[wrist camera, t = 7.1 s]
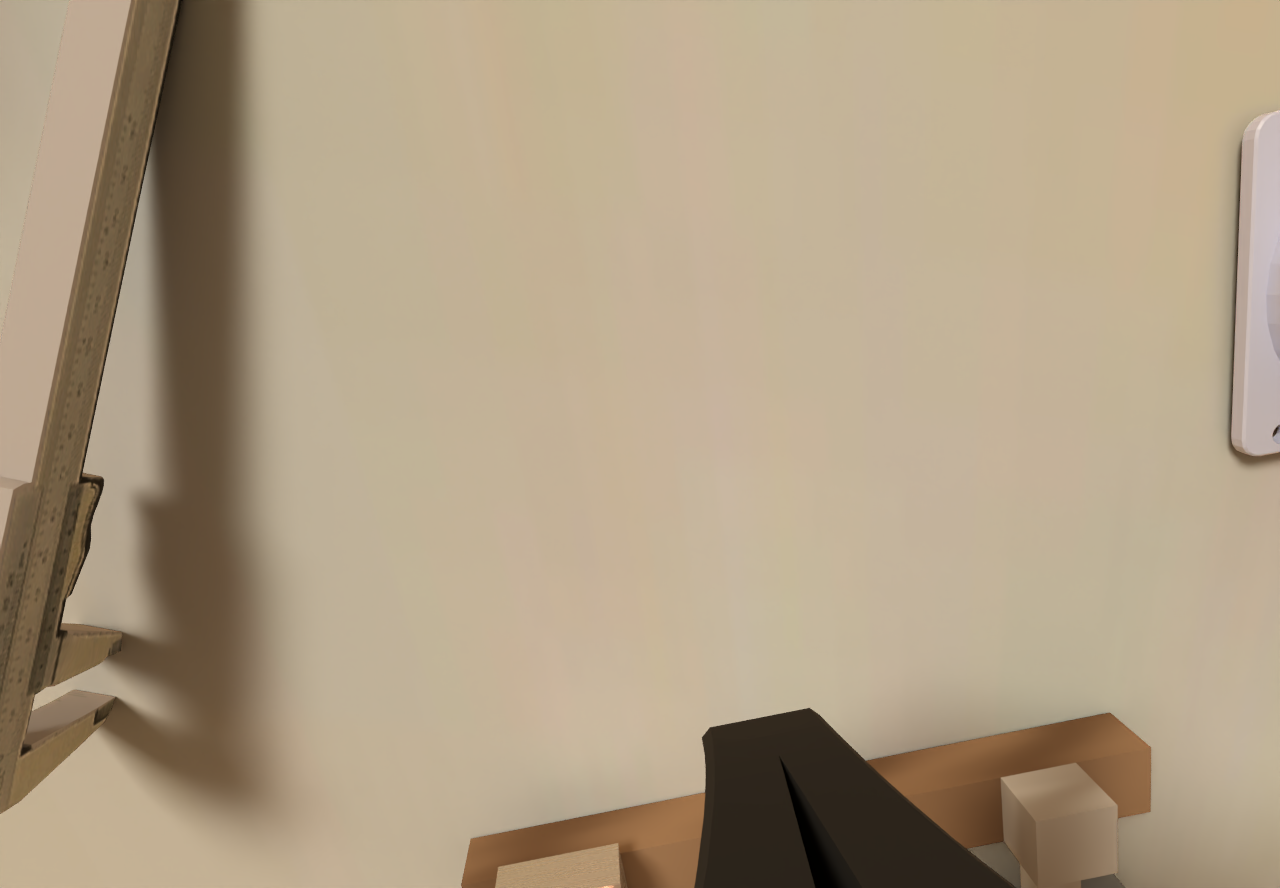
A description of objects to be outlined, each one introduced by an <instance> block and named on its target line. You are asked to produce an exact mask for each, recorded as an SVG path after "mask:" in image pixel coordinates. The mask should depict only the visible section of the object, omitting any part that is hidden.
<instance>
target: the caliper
mask: <svg viewBox="0 0 1280 888" xmlns="http://www.w3.org/2000/svg"><path fill="white" fill-rule="evenodd" d="M181 2H182V0H69V5H68V10H67V15H66V20H65V24H64V29H63V34H62V39H61V44H60V49H59V54H58V58H57V63H56V68H55V73H54V78H53V83H52V88H51V93H50V98H49V103H48V108H47V113H46V118H45V123H44V127H43V132H42V137H41V142H40V147H39V152H38V157H37V162H36V167H35V172H34V177H33V182H32V187H31V192H30V196H29V201H28V206H27V211H26V216H25V221H24V226H23V231H22V236H21V241H20V246H19V251H18V256H17V260H16V265H15V270H14V275H13V280H12V285H11V290H10V295H9V300H8V305H7V310H6V315H5V320H4V325H3V329H2V334H1V339H0V814H1V813H3V812H4V811H6V810H7V809H9V808H10V807H12V806H14V805H15V804H17V803H18V802H20V801H21V800H22V799H23V798H24V797H25V796H26V795H27V794H28V793H29V792H30V791H32V790H33V789H34V788H35V787H36V786H37V785H38V784H39V783H40V782H41V781H42V780H43V779H44V778H46V777H47V776H48V775H49V774H50V773H51V772H52V771H53V770H54V769H55V768H56V767H57V766H58V765H60V764H61V763H62V762H63V761H64V760H65V759H66V758H67V757H68V756H69V755H70V754H71V753H72V752H73V751H75V750H76V749H77V748H78V747H79V746H80V745H81V744H82V743H83V742H84V741H85V740H86V739H87V738H88V737H89V736H90V735H91V734H92V733H93V732H94V731H95V730H96V729H98V728H99V727H100V726H101V725H102V724H103V723H104V722H105V720H106V718H107V716H108V714H109V712H110V711H111V709H112V705H113V702H114V699H115V697H113V696H108V695H102V694H96V693H90V692H84V691H78V690H72V691H70V692H68V693H66V694H65V695H63V696H61V697H59V698H57V699H56V700H54V701H52V702H50V703H48V704H46V705H44V706H42V707H40V708H38V709H36V710H34V711H32V706H33V701H34V697H35V694H37V693H38V692H40V691H41V690H43V689H44V688H46V687H50V686H55V685H57V684H59V683H61V682H63V681H65V680H68V679H70V678H72V677H74V676H76V675H78V674H80V673H82V672H84V671H86V670H88V669H90V668H92V667H94V666H96V665H98V664H100V663H101V662H103V661H104V660H105V658H106V657H107V656H110V655H112V654H115V653H117V652H119V651H121V642H122V632H120V631H115V630H109V629H104V628H98V627H93V626H87V625H82V624H67V623H61V622H62V617H63V612H64V607H65V602H66V598H67V597H69V596H70V595H71V594H72V592H73V589H74V587H75V584H76V582H77V579H78V577H79V574H80V572H81V569H82V567H83V564H84V562H85V559H86V557H87V554H88V552H89V549H90V542H91V523H92V519H93V515H94V512H95V510H96V507H97V505H98V502H99V499H100V496H101V494H102V490H103V486H104V479H103V478H102V477H101V476H96V475H91V474H86V473H82V472H83V468H84V463H85V458H86V453H87V448H88V444H89V439H90V434H91V429H92V424H93V419H94V415H95V410H96V405H97V400H98V395H99V391H100V386H101V381H102V376H103V371H104V366H105V362H106V357H107V352H108V347H109V342H110V338H111V333H112V328H113V323H114V318H115V314H116V309H117V304H118V299H119V294H120V289H121V285H122V280H123V275H124V270H125V265H126V261H127V256H128V251H129V246H130V241H131V237H132V232H133V227H134V222H135V217H136V212H137V208H138V203H139V198H140V194H141V189H142V184H143V180H144V175H145V170H146V166H147V161H148V156H149V152H150V147H151V142H152V137H153V133H154V128H155V123H156V119H157V114H158V109H159V105H160V100H161V95H162V91H163V86H164V81H165V77H166V72H167V67H168V63H169V58H170V53H171V49H172V44H173V39H174V35H175V30H176V25H177V21H178V16H179V11H180V7H181ZM31 711H32V712H31Z"/></svg>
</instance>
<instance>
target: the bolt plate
mask: <svg viewBox="0 0 1280 888" xmlns="http://www.w3.org/2000/svg"><path fill="white" fill-rule="evenodd" d="M1081 888H1125V887H1124V886H1123V884H1122V883H1121V882H1120V881H1119V880H1118V879H1117V878H1116V876H1115V875H1114V874H1110V875H1105V876H1100V877H1095V878H1090V879H1085V880H1081Z"/></svg>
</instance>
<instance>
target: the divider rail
mask: <svg viewBox="0 0 1280 888" xmlns="http://www.w3.org/2000/svg"><path fill="white" fill-rule="evenodd" d="M866 762H868V763H869V764H870V765H871V766H872V767H873V768H874V769H875V770H876V771H877V772H878V773H879V774H880V775H882V776H883V777H884V778H885V779H886V780H887V781H888V782H889V783H890V784H891V785H892V786H894V787H895V788H896V789H897V790H898V791H899V792H900V793H901V794H902V795H904V796H905V797H906V798H907V799H908V800H909V801H910V802H912V803H913V804H914V805H915V806H916V807H918V808H919V809H920V810H921V811H922V812H923V813H925V814H926V815H927V816H928V817H929V818H930V819H932V820H933V821H934V822H935V823H936V824H937V825H939V826H940V827H941V828H942V829H943V830H944V831H946V832H947V833H948V834H949V835H950V836H951V837H953V838H954V839H955V840H956V841H957V842H959V843H960V844H961V845H962V846H964V847H965V848H966V849H967V848H972V847H977V846H982V845H987V844H992V843H997V842H1002V841H1004V842H1005V843H1006V845H1007V846H1008V847H1009V849H1010V850H1011V852H1012V853H1013V854H1014V856H1015V857H1016V859H1017V860H1018V861H1019V863H1020V878H1021V888H1081V880H1085V879H1090V878H1095V877H1100V876H1105V875H1110V874H1115V873H1118V818H1121V817H1126V816H1131V815H1136V814H1141V813H1146V812H1150V799H1151V747H1150V746H1148V745H1147V744H1146V743H1145V742H1144V741H1143V740H1141V739H1140V738H1139V737H1138V736H1137V735H1136V734H1134V733H1133V732H1132V731H1131V730H1130V729H1129V728H1127V727H1126V726H1125V725H1124V724H1123V723H1122V722H1120V721H1119V720H1118V719H1117V718H1116V717H1115V716H1113V715H1112V714H1111V713H1106V714H1100V715H1095V716H1090V717H1085V718H1080V719H1075V720H1070V721H1065V722H1060V723H1055V724H1050V725H1045V726H1040V727H1035V728H1030V729H1025V730H1020V731H1014V732H1009V733H1004V734H999V735H994V736H989V737H984V738H979V739H974V740H969V741H964V742H959V743H954V744H949V745H944V746H939V747H934V748H928V749H923V750H918V751H913V752H908V753H903V754H898V755H893V756H888V757H883V758H878V759H873V760H868V761H866ZM704 804H705V793H701V794H696V795H691V796H686V797H681V798H676V799H671V800H665V801H660V802H655V803H650V804H645V805H640V806H635V807H630V808H625V809H620V810H615V811H610V812H605V813H600V814H595V815H590V816H585V817H579V818H574V819H569V820H564V821H559V822H554V823H549V824H544V825H539V826H534V827H529V828H524V829H519V830H514V831H509V832H504V833H499V834H493V835H488V836H483V837H478V838H473V839H471V840H470V845H469V850H468V855H467V860H466V864H465V869H464V874H463V879H462V884H461V886H462V888H495V886H496V879H497V872H498V867H500V866H505V865H510V864H515V863H520V862H525V861H530V860H535V859H540V858H545V857H550V856H556V855H561V854H566V853H571V852H576V851H581V850H586V849H591V848H596V847H601V846H606V845H611V844H616V843H618V845H619V849H620V854H621V858H622V863H623V867H624V872H625V877H626V881H627V886H628V888H694V886H695V880H696V873H697V866H698V858H699V850H700V842H701V834H702V826H703V818H704Z"/></svg>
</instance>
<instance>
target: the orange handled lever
mask: <svg viewBox="0 0 1280 888" xmlns="http://www.w3.org/2000/svg"><path fill="white" fill-rule="evenodd" d="M495 888H628V886H627V881H626V877H625V872H624V867H623V863H622V858H621V854H620V849H619V845H618V843H616V844H611V845H606V846H601V847H596V848H591V849H586V850H581V851H576V852H571V853H566V854H561V855H556V856H550V857H545V858H540V859H535V860H530V861H525V862H520V863H515V864H510V865H505V866H500V867H498V872H497V879H496V886H495Z"/></svg>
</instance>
